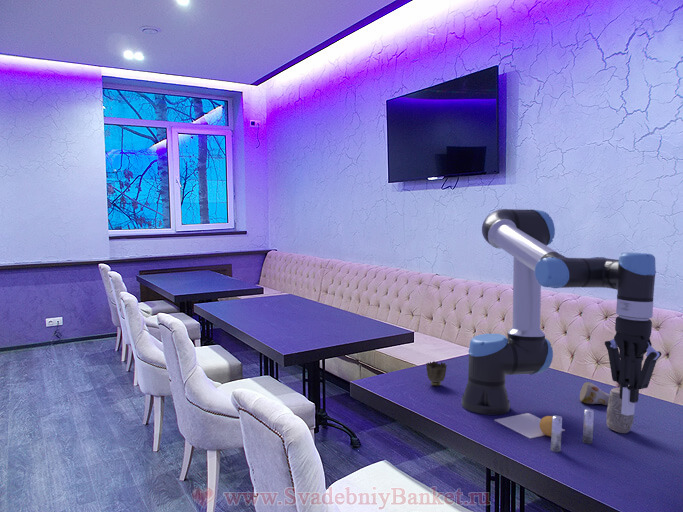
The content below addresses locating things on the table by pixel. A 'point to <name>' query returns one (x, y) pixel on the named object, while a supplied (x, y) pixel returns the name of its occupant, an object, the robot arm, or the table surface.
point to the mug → (593, 395)
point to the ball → (546, 425)
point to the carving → (617, 414)
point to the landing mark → (523, 425)
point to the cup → (436, 372)
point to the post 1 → (556, 433)
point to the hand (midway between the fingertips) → (627, 413)
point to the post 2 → (588, 426)
